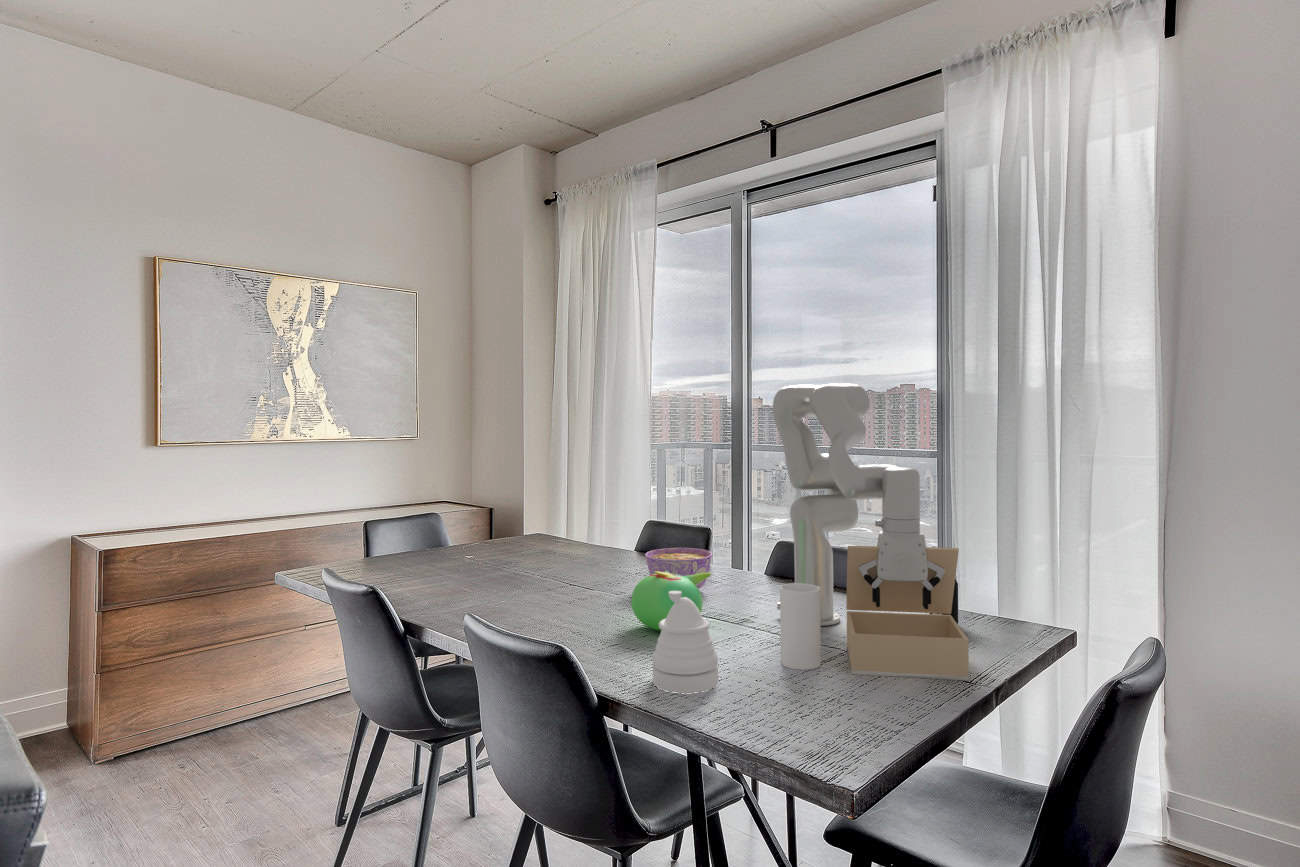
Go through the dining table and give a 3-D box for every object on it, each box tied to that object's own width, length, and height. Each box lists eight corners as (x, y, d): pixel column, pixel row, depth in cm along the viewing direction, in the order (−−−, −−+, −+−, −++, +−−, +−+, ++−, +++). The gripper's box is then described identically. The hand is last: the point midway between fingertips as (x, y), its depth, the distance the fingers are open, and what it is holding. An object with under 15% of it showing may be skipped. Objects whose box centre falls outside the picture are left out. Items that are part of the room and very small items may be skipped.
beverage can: (960, 629, 177) (960, 580, 177) (931, 628, 178) (931, 579, 178) (955, 622, 184) (954, 574, 183) (927, 621, 185) (927, 573, 185)
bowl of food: (715, 600, 209) (714, 559, 209) (644, 601, 209) (644, 560, 209) (710, 584, 229) (710, 547, 229) (646, 585, 229) (645, 548, 229)
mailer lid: (848, 544, 156) (847, 542, 156) (846, 609, 165) (846, 607, 166) (959, 546, 151) (958, 544, 152) (950, 613, 161) (950, 611, 161)
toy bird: (618, 630, 181) (617, 570, 181) (664, 615, 194) (663, 560, 193) (673, 644, 169) (672, 580, 169) (718, 628, 181) (718, 568, 181)
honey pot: (669, 699, 136) (668, 602, 136) (642, 677, 148) (641, 587, 148) (730, 687, 142) (729, 594, 141) (699, 667, 153) (698, 581, 153)
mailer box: (851, 674, 148) (851, 634, 148) (846, 646, 166) (846, 611, 165) (968, 680, 143) (968, 639, 143) (951, 651, 161) (951, 615, 161)
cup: (812, 672, 149) (812, 593, 149) (774, 665, 154) (773, 589, 153) (826, 660, 156) (825, 585, 156) (789, 654, 161) (788, 581, 160)
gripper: (859, 528, 154) (860, 609, 155) (947, 529, 150) (947, 613, 151) (857, 522, 161) (857, 600, 162) (941, 524, 158) (941, 603, 158)
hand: (901, 606), depth 156 cm, fingers open, 9 cm apart
